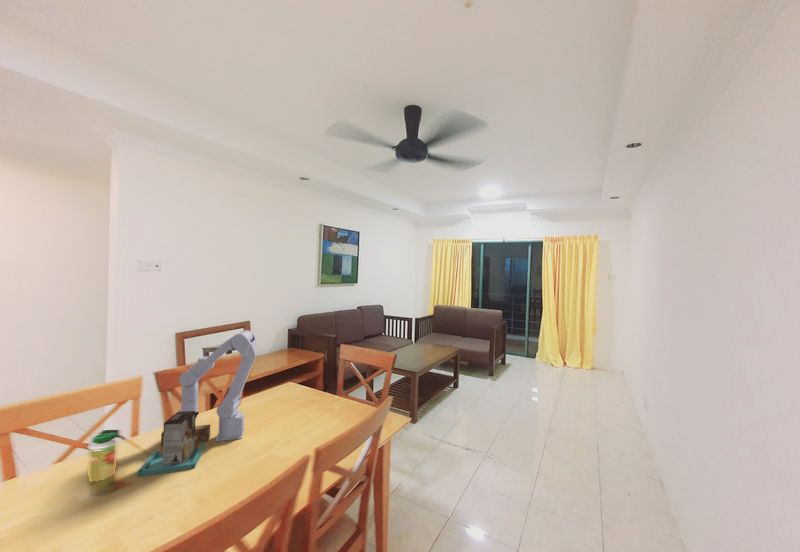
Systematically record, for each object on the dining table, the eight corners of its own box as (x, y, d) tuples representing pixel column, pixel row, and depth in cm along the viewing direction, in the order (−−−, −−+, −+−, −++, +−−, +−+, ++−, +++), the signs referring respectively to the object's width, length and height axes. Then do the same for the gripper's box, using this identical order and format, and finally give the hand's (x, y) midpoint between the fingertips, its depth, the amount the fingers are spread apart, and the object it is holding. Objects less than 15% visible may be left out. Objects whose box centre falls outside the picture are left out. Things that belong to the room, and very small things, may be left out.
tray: (205, 448, 120) (205, 443, 120) (194, 468, 107) (194, 463, 107) (154, 454, 115) (154, 450, 114) (137, 477, 102) (137, 472, 102)
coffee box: (176, 453, 115) (177, 411, 115) (195, 452, 116) (196, 410, 116) (161, 468, 106) (163, 422, 106) (182, 467, 107) (183, 422, 107)
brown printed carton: (210, 436, 127) (210, 424, 127) (203, 449, 118) (203, 436, 118) (164, 442, 122) (164, 429, 122) (153, 456, 113) (153, 442, 113)
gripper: (184, 393, 132) (183, 424, 132) (171, 407, 118) (170, 442, 118) (203, 391, 134) (202, 422, 134) (192, 405, 120) (191, 440, 120)
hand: (188, 432), depth 126 cm, fingers closed
